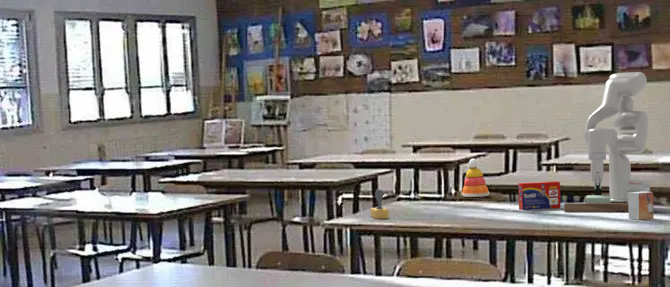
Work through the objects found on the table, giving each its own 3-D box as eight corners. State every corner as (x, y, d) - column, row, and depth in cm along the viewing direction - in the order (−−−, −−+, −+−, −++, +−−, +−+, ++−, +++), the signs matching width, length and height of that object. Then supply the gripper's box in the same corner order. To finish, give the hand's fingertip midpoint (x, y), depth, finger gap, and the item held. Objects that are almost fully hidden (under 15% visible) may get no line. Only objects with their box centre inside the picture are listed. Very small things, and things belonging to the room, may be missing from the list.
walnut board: (564, 211, 416) (564, 203, 416) (633, 211, 409) (633, 202, 409) (564, 211, 414) (564, 203, 414) (633, 211, 407) (633, 203, 407)
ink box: (650, 207, 423) (650, 180, 423) (644, 208, 420) (643, 180, 419) (633, 206, 430) (633, 179, 429) (627, 207, 426) (626, 180, 426)
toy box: (556, 207, 435) (555, 181, 434) (560, 208, 431) (559, 181, 430) (518, 209, 430) (518, 183, 430) (522, 210, 427) (522, 183, 426)
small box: (638, 220, 378) (638, 193, 378) (628, 219, 383) (627, 192, 383) (654, 218, 382) (653, 191, 381) (643, 217, 387) (642, 190, 386)
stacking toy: (492, 195, 500) (491, 157, 499) (486, 198, 487) (485, 159, 486) (465, 195, 505) (464, 157, 504) (458, 198, 492) (457, 159, 491)
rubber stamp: (388, 218, 411) (388, 189, 411) (375, 218, 410) (374, 190, 410) (383, 215, 421) (383, 188, 421) (370, 216, 420) (369, 188, 420)
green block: (587, 207, 431) (586, 195, 431) (610, 207, 429) (610, 195, 428) (586, 210, 420) (585, 197, 420) (610, 210, 417) (609, 197, 417)
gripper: (588, 156, 439) (589, 196, 440) (588, 157, 425) (589, 199, 425) (606, 155, 437) (606, 196, 438) (606, 157, 423) (606, 199, 423)
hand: (598, 198), depth 432 cm, fingers closed
